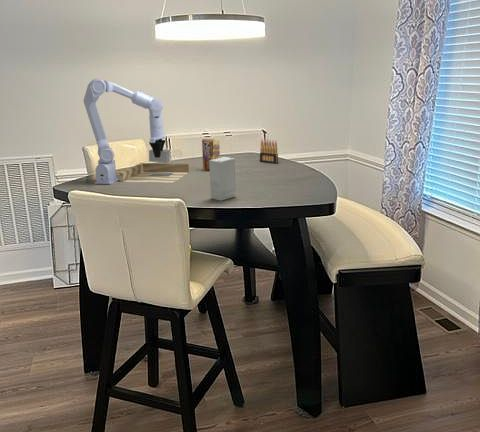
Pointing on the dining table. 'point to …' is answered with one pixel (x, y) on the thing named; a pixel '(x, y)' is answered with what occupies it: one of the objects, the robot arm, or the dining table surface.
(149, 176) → the arena
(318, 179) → the dining table surface
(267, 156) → the ammunition clip
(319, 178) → the dining table surface
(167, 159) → the bracket
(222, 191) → the skincare box
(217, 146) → the candy box
